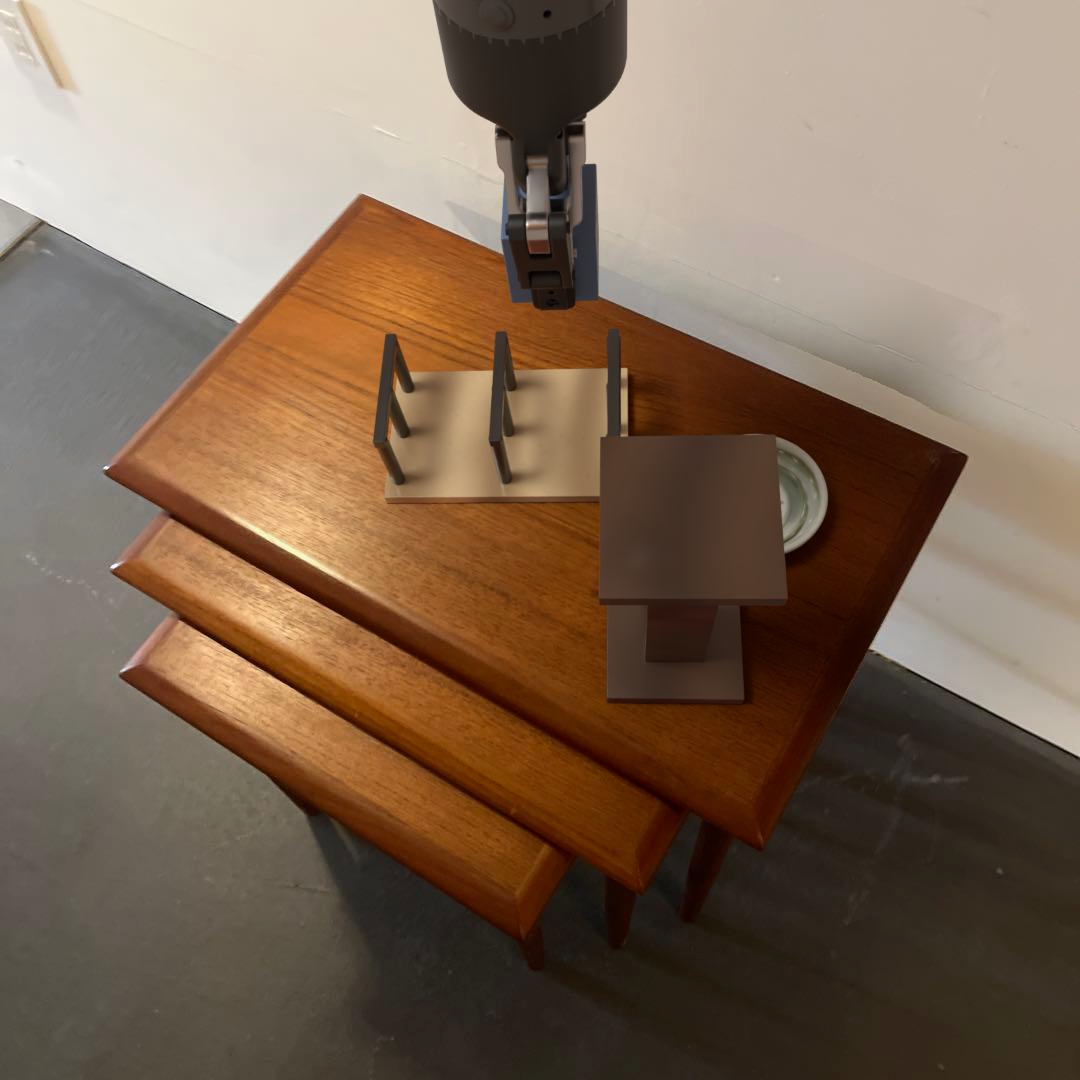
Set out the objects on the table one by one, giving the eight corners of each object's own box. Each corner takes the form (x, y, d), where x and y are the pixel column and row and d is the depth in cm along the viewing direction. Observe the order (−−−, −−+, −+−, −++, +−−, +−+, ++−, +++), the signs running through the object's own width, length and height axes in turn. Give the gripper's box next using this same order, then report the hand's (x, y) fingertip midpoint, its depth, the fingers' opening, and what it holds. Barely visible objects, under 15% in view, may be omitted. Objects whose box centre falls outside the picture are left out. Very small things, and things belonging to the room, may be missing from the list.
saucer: (793, 434, 72) (798, 416, 70) (843, 548, 68) (850, 533, 66) (668, 468, 72) (669, 452, 70) (711, 585, 68) (714, 572, 66)
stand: (736, 578, 68) (775, 434, 50) (742, 704, 64) (788, 598, 46) (607, 578, 69) (600, 436, 51) (606, 702, 65) (598, 598, 47)
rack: (627, 374, 76) (627, 316, 69) (628, 501, 71) (628, 452, 64) (400, 378, 77) (378, 322, 70) (386, 503, 73) (362, 455, 66)
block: (598, 232, 53) (596, 162, 48) (598, 301, 51) (596, 235, 46) (514, 235, 53) (504, 166, 49) (511, 303, 51) (500, 238, 47)
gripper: (629, 96, 33) (627, 376, 49) (626, -165, 39) (625, 160, 54) (412, 106, 34) (479, 379, 49) (440, -153, 40) (492, 165, 55)
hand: (555, 262), depth 52 cm, fingers closed on block, 4 cm apart
